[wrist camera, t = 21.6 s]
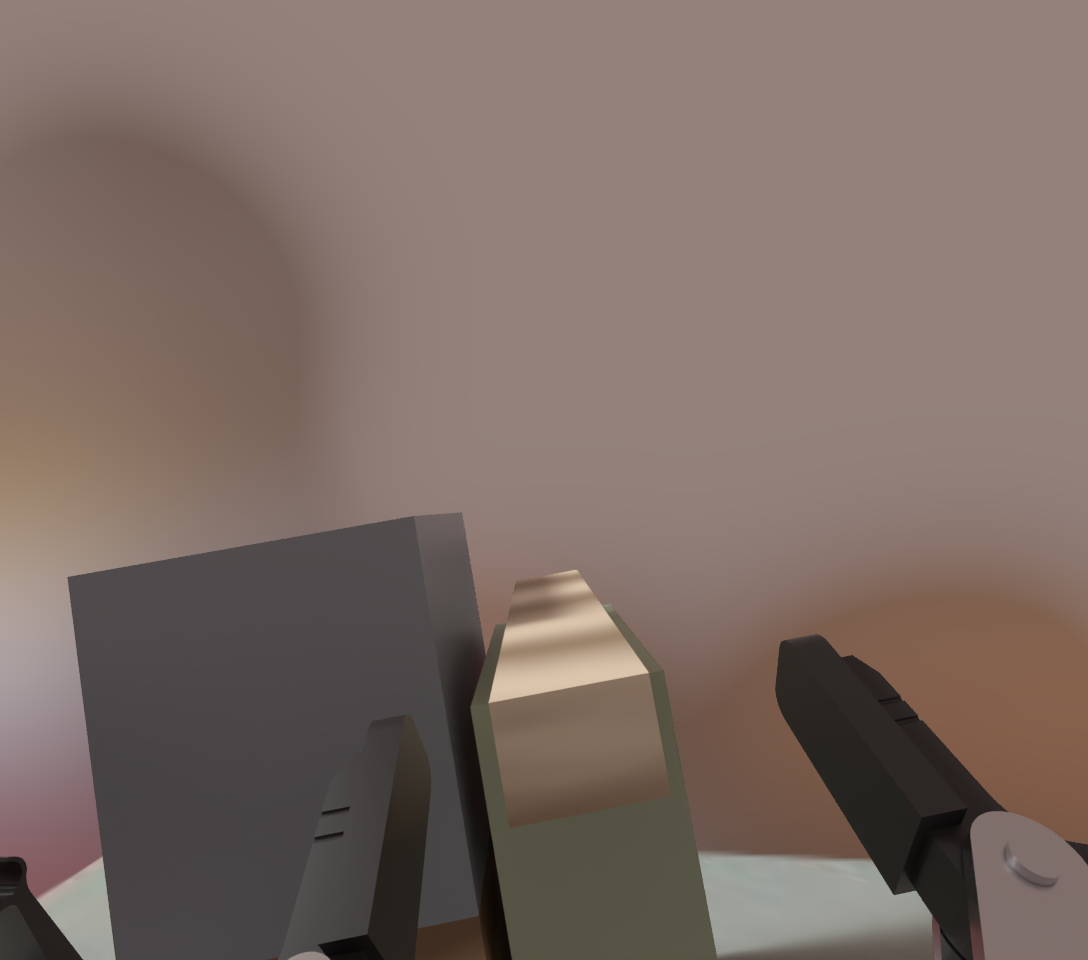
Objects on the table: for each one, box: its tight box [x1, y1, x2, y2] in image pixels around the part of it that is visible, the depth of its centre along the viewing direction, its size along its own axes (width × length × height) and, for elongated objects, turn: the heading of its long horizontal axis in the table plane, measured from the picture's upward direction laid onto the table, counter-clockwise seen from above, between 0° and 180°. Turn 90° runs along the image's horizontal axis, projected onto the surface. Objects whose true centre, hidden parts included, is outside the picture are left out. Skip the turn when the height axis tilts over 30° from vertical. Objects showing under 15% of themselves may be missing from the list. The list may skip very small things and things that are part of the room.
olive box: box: [470, 604, 717, 960], centre depth 26 cm, size 14×8×24 cm, turn 1°
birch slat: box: [489, 570, 671, 828], centre depth 22 cm, size 20×4×3 cm, turn 1°
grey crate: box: [68, 513, 490, 960], centre depth 27 cm, size 14×14×16 cm
